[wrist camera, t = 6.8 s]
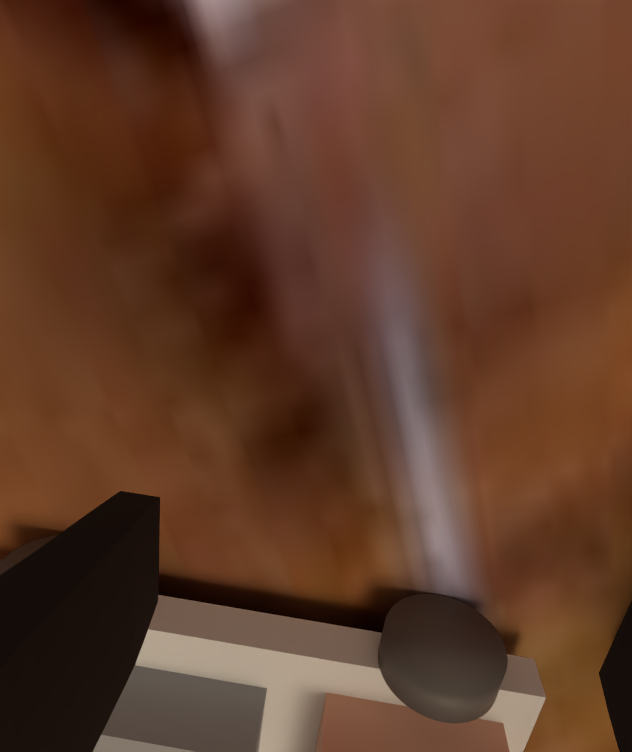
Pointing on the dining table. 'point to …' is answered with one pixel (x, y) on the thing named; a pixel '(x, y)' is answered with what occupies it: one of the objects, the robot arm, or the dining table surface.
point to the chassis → (321, 682)
